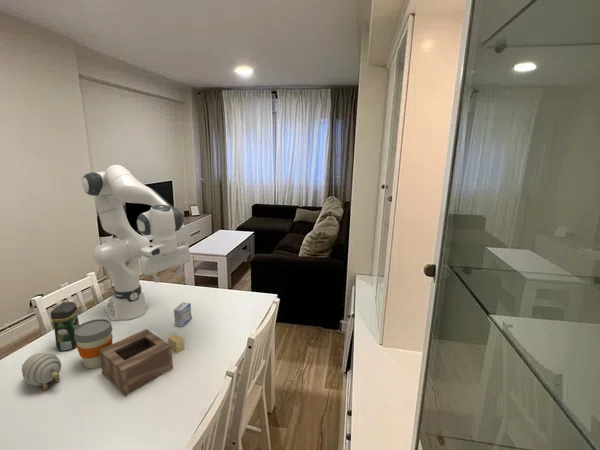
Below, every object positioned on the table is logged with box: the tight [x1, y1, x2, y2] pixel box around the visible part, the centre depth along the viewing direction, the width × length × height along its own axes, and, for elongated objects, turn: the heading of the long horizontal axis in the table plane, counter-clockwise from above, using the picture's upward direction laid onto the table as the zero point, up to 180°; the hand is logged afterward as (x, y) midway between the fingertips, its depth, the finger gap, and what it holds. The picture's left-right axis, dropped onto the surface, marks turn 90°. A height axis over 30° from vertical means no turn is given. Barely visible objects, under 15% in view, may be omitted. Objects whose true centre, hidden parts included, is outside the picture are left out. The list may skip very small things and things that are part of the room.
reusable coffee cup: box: [74, 318, 113, 369], centre depth 127 cm, size 13×13×15 cm
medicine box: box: [173, 301, 193, 327], centre depth 156 cm, size 8×4×9 cm, turn 168°
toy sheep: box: [21, 352, 62, 391], centre depth 115 cm, size 11×17×11 cm, turn 72°
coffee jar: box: [50, 301, 80, 352], centre depth 135 cm, size 10×8×19 cm
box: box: [99, 328, 174, 396], centre depth 122 cm, size 18×18×10 cm
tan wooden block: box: [167, 333, 185, 354], centre depth 137 cm, size 6×4×5 cm, turn 53°
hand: (168, 278), depth 132 cm, fingers open, 8 cm apart
